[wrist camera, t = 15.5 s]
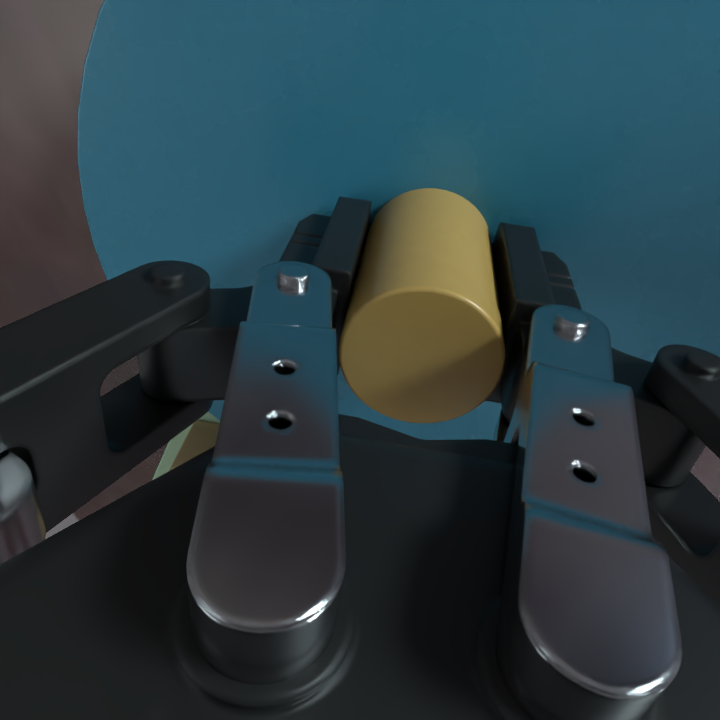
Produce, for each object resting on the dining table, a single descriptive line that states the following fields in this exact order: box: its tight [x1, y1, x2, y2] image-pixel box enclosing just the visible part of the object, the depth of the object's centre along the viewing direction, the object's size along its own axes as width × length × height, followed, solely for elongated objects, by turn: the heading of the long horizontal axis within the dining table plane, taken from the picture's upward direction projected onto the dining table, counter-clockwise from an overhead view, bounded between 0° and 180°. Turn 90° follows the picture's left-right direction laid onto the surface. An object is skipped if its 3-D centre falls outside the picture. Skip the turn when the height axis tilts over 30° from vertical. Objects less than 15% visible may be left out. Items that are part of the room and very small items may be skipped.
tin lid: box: [78, 0, 720, 440], centre depth 13 cm, size 16×16×6 cm
